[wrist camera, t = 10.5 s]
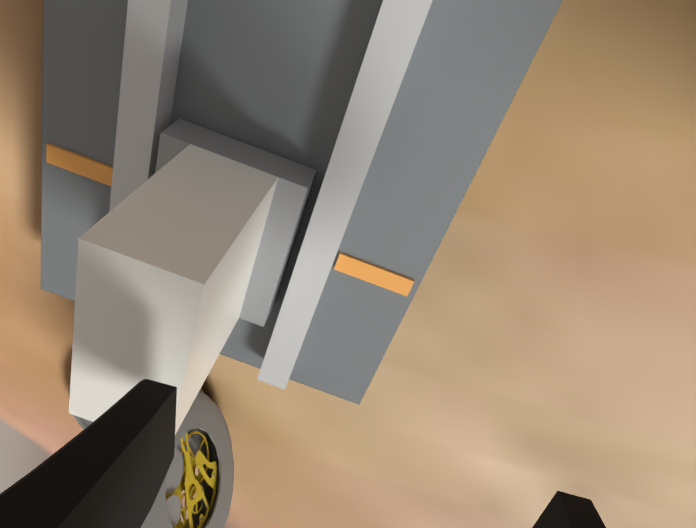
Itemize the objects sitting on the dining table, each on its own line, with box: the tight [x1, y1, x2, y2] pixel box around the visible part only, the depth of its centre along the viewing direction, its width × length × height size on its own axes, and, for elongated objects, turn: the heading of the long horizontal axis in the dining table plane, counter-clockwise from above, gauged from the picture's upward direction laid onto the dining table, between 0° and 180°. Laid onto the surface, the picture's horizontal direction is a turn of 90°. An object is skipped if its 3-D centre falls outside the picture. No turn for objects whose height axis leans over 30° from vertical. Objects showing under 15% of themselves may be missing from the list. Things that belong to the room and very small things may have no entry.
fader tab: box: [69, 119, 317, 435], centre depth 14 cm, size 4×5×6 cm
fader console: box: [41, 0, 562, 404], centre depth 14 cm, size 12×23×3 cm, turn 162°
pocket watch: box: [69, 388, 234, 528], centre depth 20 cm, size 8×8×10 cm
